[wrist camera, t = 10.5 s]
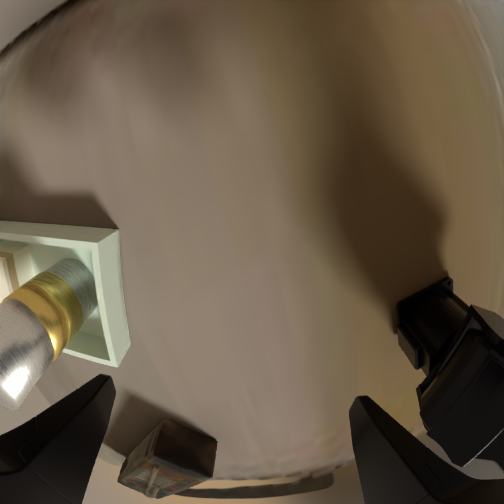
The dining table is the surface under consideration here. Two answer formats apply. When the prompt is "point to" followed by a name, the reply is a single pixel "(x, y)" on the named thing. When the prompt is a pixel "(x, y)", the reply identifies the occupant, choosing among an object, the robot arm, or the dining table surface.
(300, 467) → the dining table surface
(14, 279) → the butter box
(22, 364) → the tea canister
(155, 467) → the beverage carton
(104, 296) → the tote
